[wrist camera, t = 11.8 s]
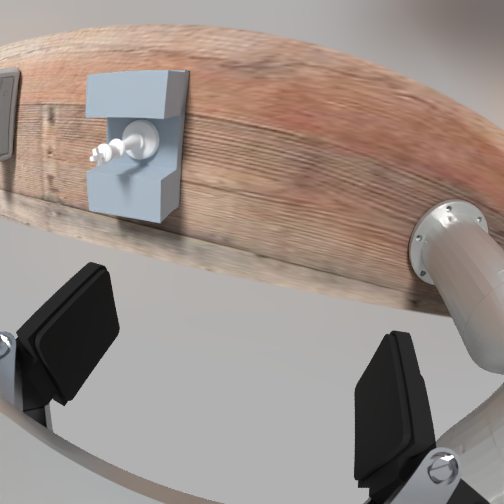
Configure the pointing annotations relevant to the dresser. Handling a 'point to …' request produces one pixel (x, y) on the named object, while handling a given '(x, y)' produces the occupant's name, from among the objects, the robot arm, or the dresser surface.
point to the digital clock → (8, 110)
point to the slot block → (125, 168)
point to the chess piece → (130, 143)
